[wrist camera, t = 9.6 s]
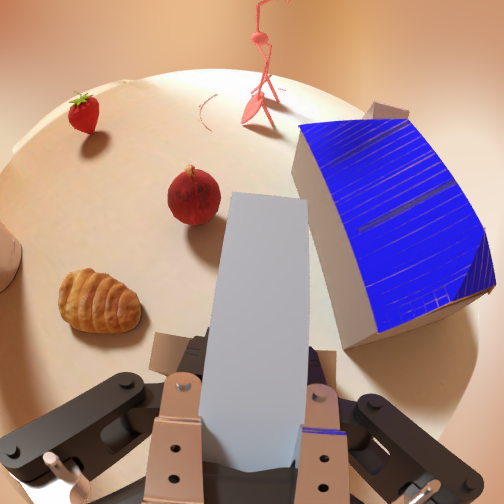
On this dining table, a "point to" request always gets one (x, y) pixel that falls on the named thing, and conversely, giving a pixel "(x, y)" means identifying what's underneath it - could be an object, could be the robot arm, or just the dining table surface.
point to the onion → (194, 196)
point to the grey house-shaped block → (385, 112)
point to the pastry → (98, 303)
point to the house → (388, 228)
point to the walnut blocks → (173, 347)
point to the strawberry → (84, 114)
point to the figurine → (258, 98)
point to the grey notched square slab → (258, 336)
